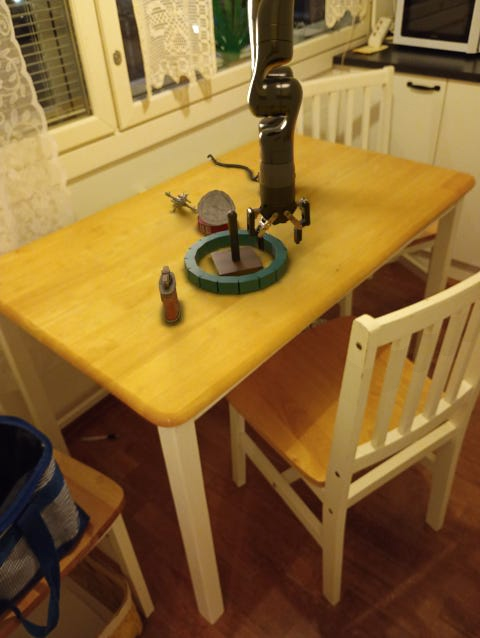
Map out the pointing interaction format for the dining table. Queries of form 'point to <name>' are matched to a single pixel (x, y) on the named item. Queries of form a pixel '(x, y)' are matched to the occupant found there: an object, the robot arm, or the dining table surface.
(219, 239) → the ring
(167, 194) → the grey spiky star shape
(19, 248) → the dining table surface
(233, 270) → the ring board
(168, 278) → the lighter
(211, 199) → the canned food
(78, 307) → the dining table surface
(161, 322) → the dining table surface
